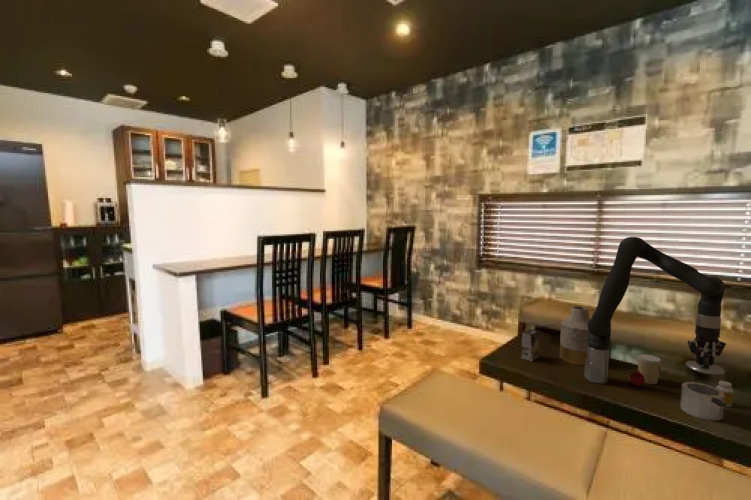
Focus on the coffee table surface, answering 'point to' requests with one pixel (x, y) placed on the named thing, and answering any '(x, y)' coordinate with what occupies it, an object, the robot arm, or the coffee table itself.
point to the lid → (705, 366)
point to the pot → (702, 401)
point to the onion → (637, 378)
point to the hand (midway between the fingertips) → (704, 364)
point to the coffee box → (530, 344)
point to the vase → (575, 336)
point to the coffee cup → (649, 368)
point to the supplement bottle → (726, 392)
